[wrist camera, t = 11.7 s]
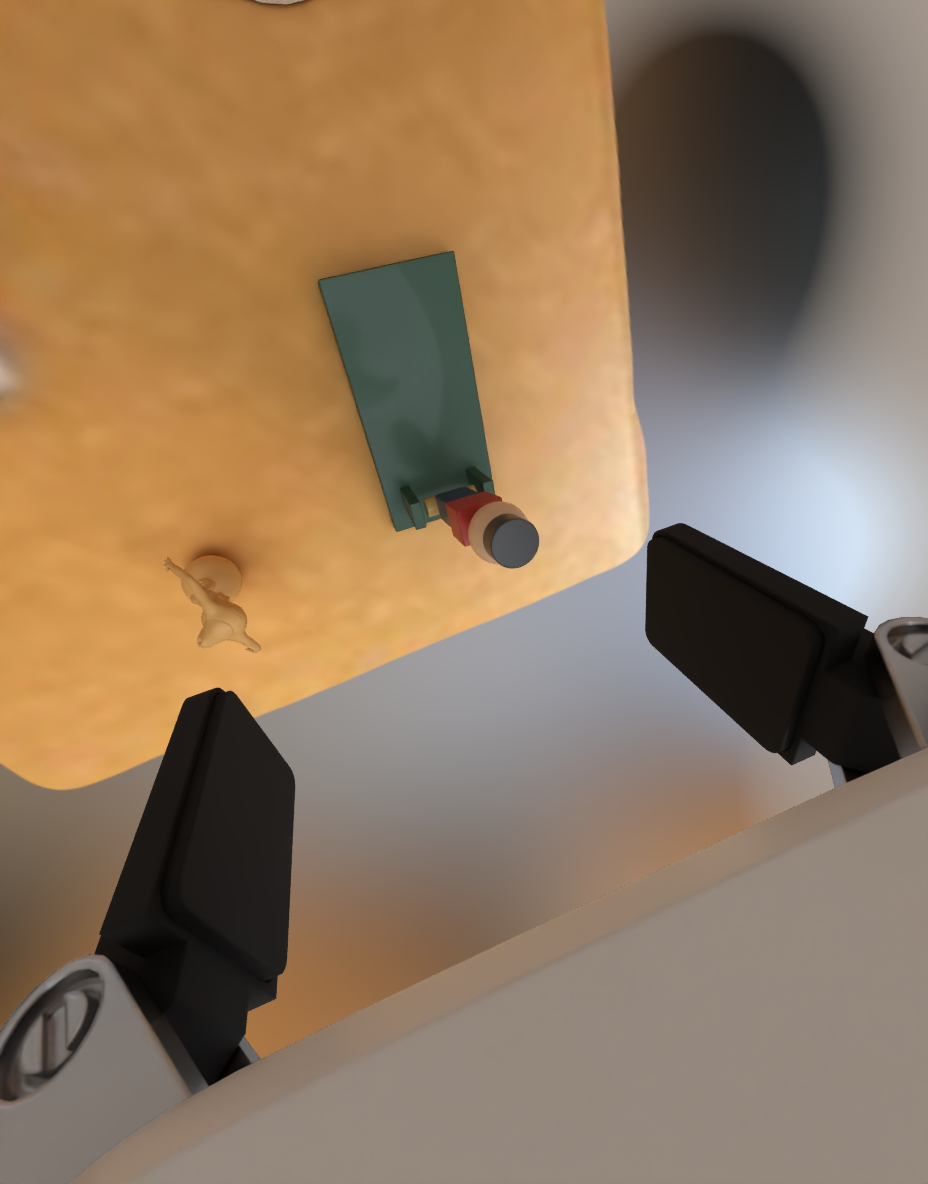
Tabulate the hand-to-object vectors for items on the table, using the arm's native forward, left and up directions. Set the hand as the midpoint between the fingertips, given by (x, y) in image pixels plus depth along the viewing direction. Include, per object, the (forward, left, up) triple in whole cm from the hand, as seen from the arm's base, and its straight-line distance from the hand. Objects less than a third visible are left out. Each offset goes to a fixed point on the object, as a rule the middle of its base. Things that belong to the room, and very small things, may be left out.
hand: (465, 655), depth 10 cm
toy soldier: (+1, +5, -17) cm, 18 cm away
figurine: (+10, -11, -28) cm, 32 cm away
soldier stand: (-2, +4, -28) cm, 28 cm away
